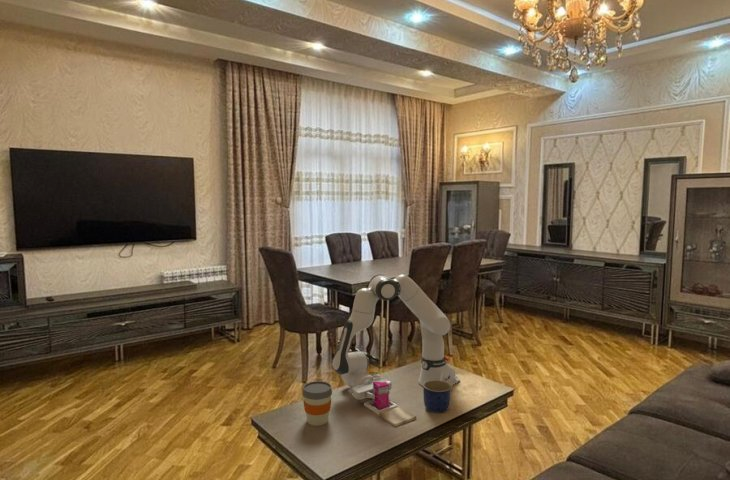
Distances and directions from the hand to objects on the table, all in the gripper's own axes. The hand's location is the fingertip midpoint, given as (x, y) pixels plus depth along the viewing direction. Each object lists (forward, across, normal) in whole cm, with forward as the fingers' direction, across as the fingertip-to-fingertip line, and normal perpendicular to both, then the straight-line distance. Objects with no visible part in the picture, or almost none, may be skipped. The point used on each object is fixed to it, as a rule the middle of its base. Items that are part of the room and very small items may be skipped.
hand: (382, 394), depth 203 cm
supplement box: (-1, 0, +6) cm, 6 cm away
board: (+11, 0, +6) cm, 13 cm away
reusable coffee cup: (-7, -30, +6) cm, 31 cm away
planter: (+15, +20, +6) cm, 26 cm away
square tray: (-1, 0, +6) cm, 6 cm away
